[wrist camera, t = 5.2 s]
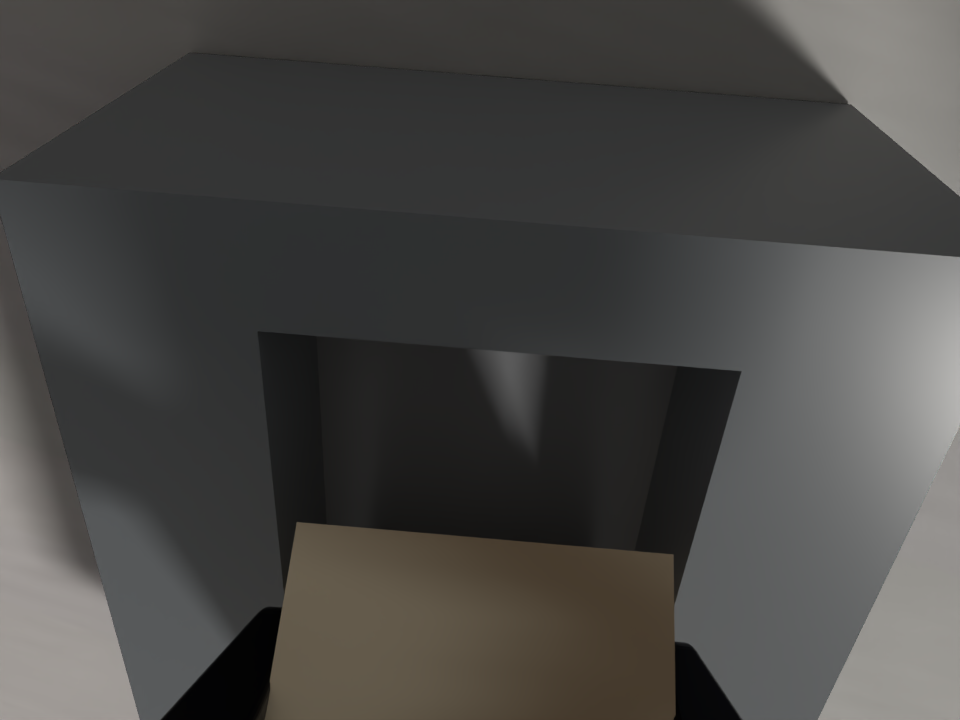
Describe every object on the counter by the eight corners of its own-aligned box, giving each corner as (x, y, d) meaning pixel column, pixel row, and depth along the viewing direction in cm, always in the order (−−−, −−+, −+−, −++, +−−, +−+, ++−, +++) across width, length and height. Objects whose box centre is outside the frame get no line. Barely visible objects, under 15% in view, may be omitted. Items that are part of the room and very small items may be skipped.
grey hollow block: (651, 751, 22) (683, 997, 17) (273, 717, 22) (204, 952, 17) (851, 104, 12) (1038, 263, 8) (189, 52, 13) (-10, 179, 8)
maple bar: (673, 554, 9) (677, 886, 7) (553, 641, 20) (547, 781, 18) (297, 522, 9) (240, 848, 7) (388, 626, 20) (371, 765, 18)
